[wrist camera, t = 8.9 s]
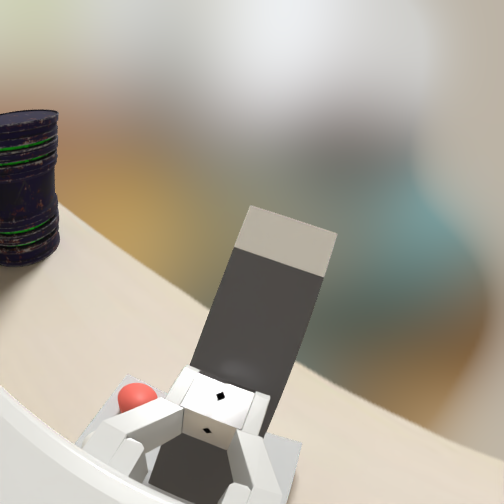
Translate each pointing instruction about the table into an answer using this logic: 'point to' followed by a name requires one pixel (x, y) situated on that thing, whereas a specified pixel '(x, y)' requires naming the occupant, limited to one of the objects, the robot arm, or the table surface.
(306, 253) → the toggle
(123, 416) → the robot arm
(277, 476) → the panel
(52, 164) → the storage jar
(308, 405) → the table surface
